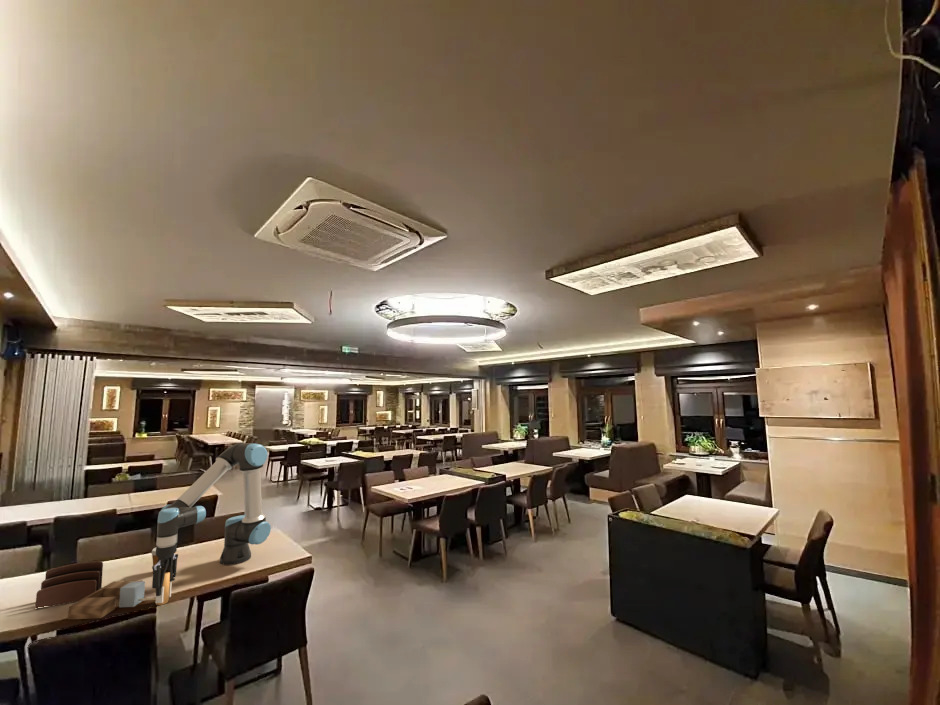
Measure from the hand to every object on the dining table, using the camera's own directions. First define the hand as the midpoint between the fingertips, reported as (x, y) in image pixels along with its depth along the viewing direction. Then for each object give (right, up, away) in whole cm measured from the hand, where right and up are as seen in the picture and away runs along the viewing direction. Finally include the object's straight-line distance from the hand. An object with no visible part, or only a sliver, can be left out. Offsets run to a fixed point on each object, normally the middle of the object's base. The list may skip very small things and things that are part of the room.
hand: (163, 599), depth 180 cm
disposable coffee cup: (-25, -5, +31) cm, 40 cm away
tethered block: (-7, -1, 0) cm, 7 cm away
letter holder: (-46, -3, +4) cm, 46 cm away
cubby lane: (-23, -1, -1) cm, 23 cm away
